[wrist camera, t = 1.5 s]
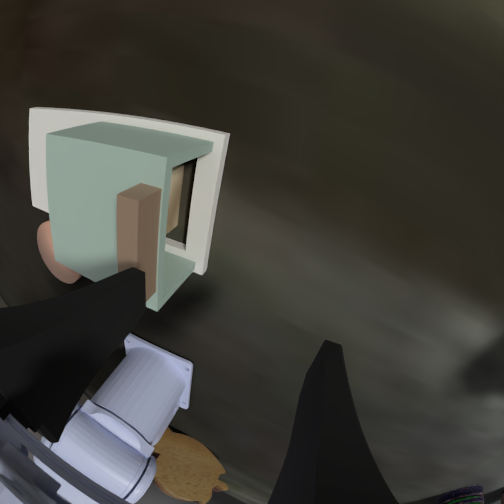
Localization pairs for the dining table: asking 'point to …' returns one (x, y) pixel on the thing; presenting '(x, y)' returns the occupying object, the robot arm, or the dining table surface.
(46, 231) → the coaster
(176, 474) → the wooden carving
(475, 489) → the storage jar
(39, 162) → the board
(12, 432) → the robot arm
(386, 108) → the dining table surface
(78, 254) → the pale green open box
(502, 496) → the plant pot
